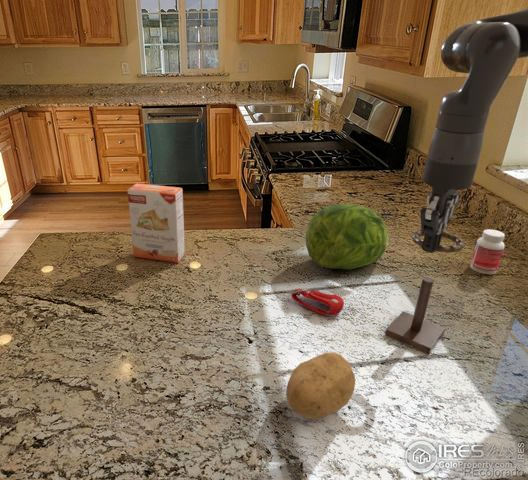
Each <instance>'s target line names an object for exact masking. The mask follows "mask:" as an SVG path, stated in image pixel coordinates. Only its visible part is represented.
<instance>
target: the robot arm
mask: <svg viewBox="0 0 528 480" xmlns="http://www.w3.org/2000/svg"><path fill="white" fill-rule="evenodd" d="M440 57H441V58H440V59H441V61H442V62H441V63H442V64H443V65H444V66H445V67H446V68H447V69H448V70H450V71H452V72H455V73H460V74H468V75H467V77H466V79H465V81H464V83H463V85H462V86H461V88H460V89H454V90H449V91H448V92H446V93H445V94H444V96H443V97H442V99H441V102H440V105H439V110H438V113H437V114H438V115H437V119H436V124H435V128H434V131H433V134H432V137H431V140H430V143H429V148H428V153H427V157H426V161H425V166H424V170H423V174H422V175H423V176H422V181H423V182H424V183H425V184H426V185H429V186H430V187H431V188H432V190H431V192H430V193H428V195H427V196H426V200H425V203H426V207H425V206H423V207H422V208H421V209H420V230H421V231H423V232H425V236H423V239H422V240H423V245H422V247H421V250H422V251H423V252H427V253H430V254H434V253H435V252H436V247H437V245H441V241H442V238H443V237H442V234H443V231H446V229H447V227H448V226H447V225H449V224H450V223H451V220H452V218H453V215H454V212H455V210H456V207H457V205H458V202H459V200H460V198H461V193H459V192H458V191H463V190H467V189H469V188H471V187H472V185H473V182H474V179H475V174H476V171H477V167H478V164H479V160H480V156H481V153H482V149H483V145H484V137H485V136H484V135H485V130H486V127H487V125H488V124H487V123H488V119H489V115H490V113H491V108H492V105H493V104H494V102H495V100H496V99H497V97H498V95H499V93H500V92H501V91H502V88H503V86H504V85H505V83H506V81H507V79H508V77H509V76H510V74H511V72H512V71H513V69H514V67H515V65H516V63H517V61H518V59H523V58H528V7H526V8H525V7H524V8H523V9H520V10H518V11H515V12H511V13H506V14H500V15H495V16H491V17H485V18H482V19H477V20H476V19H475V20H473V21H469V22H467V23H463V24H462V25H460V26H458V27H457V28H455V29H454V30H452V31H451V32H450V33H449V34H448V35H447V37H446V38H445V40H444V41H443V43H442V46H441V49H440Z"/></svg>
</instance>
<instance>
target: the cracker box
mask: <svg viewBox="0 0 528 480" xmlns="http://www.w3.org/2000/svg"><path fill="white" fill-rule="evenodd" d="M183 192H184V190H183V188H182V187H177V186H167V185H157V184H147V183H137V182H135V184H133V185H132V186H131V187H129V188H128V189H127V200H128V210H129V220H130V221H129V222H130V230H131V243H132V252H133V257H135V258H141V259H149V260H153V261H154V260H155V261H161V262H167V263H174V264H179V262H180V261H181V260H182V259H183V257H184V256H185V255H186V249H185V247H186V246H185V219H184V196H183V195H184V193H183Z"/></svg>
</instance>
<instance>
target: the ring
mask: <svg viewBox="0 0 528 480" xmlns="http://www.w3.org/2000/svg"><path fill="white" fill-rule="evenodd" d="M442 231H443V234H442V238H443V239H447V240H450V241H452V242H453V243H455V244H453V245H442V244H440V245H437V247H436V251H435V252H437V253H446V254H450V253H457V252H461V251H462V250H463V249H464V248H465V246H466V243H465V241H464V240H463V239H462V237H460V236H458V235H456V234H454V233H453V232H448V231H446V230H442ZM424 236H425V232H423V231H421V229H417V230H416V231H415V232H414V233H412V234H411V239H412V241H413V243H414V244H416V245H417V246H419V247H420V248H422V245H423V240H424V239H422V238H421V237H424Z"/></svg>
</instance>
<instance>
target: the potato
mask: <svg viewBox="0 0 528 480" xmlns="http://www.w3.org/2000/svg"><path fill="white" fill-rule="evenodd" d="M355 386H356V376H355V373H354V371H353V369H352V366H351V364H350V362H349V361H348V360H347V359H346V358H344V357H343V355H342V354H339V353H337V352H333V351H332V352H330V351H329V352H324V353H321V354H319V355H316V356H314V357H312V358H310V359H308V360H306V361H305V360H304V361H303V362H301V363H299V364H298V365H297V366H296V367H295V368H294V369H293V370H292V372H291V374H290V377H289V379H288V381H287V385H286V390H285V396H286V401H287V403H288V405H289V407H290V409H291V410H292V411H293V412H295V413H297V414H298V415H300V416H302V417H303V418H307V419H309V420H320V419H322V418H325V417H327V416H329V415H332V414H334V413H337V412H338V411H339V410H341V409H342V408H344V407H346V405H348V404H349V401H350V400H351V398H352V396H353V394H354V392H355V388H356V387H355Z"/></svg>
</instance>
